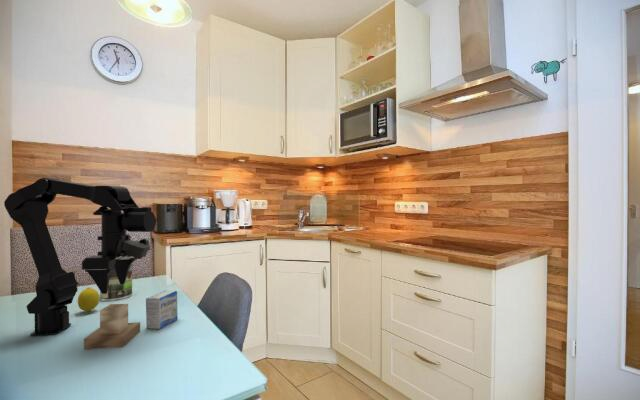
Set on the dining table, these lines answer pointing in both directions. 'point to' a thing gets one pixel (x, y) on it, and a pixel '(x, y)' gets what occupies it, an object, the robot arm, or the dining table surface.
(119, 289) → the coffee can
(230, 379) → the dining table surface
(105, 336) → the walnut block
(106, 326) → the birch block
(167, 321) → the medicine box
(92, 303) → the lemon
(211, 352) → the dining table surface
